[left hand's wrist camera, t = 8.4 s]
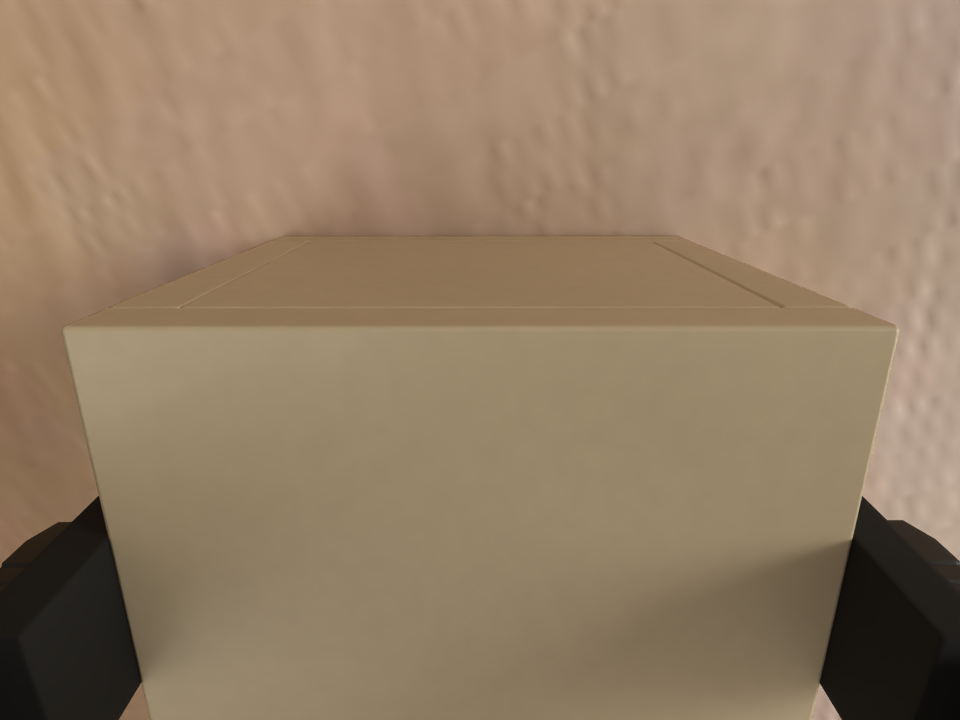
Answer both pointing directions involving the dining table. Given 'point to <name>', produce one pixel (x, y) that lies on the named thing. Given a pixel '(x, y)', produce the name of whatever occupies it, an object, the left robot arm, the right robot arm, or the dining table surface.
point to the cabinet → (480, 479)
